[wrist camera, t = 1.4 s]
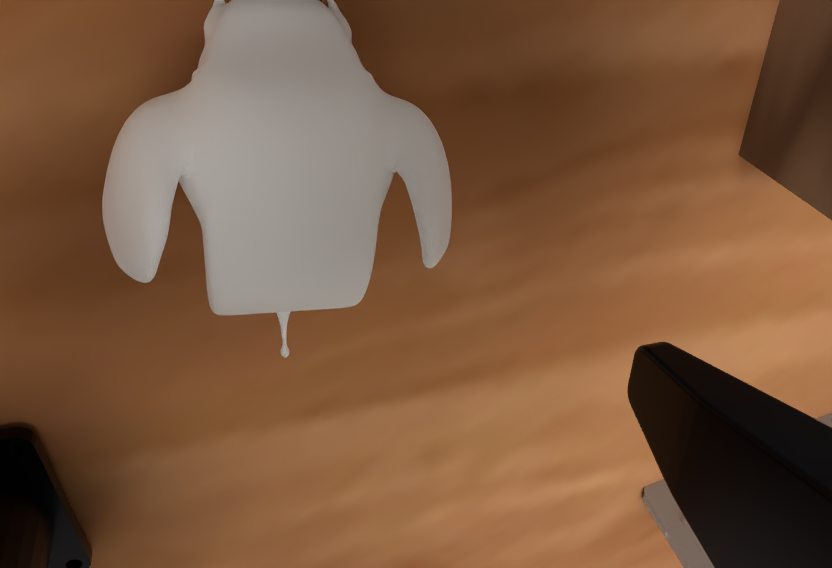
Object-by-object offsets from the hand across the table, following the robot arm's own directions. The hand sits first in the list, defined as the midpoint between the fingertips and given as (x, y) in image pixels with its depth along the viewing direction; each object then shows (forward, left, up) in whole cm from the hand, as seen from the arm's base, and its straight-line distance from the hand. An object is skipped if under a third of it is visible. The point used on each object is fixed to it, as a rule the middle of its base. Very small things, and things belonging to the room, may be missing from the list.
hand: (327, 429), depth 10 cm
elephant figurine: (0, 0, -10) cm, 10 cm away
